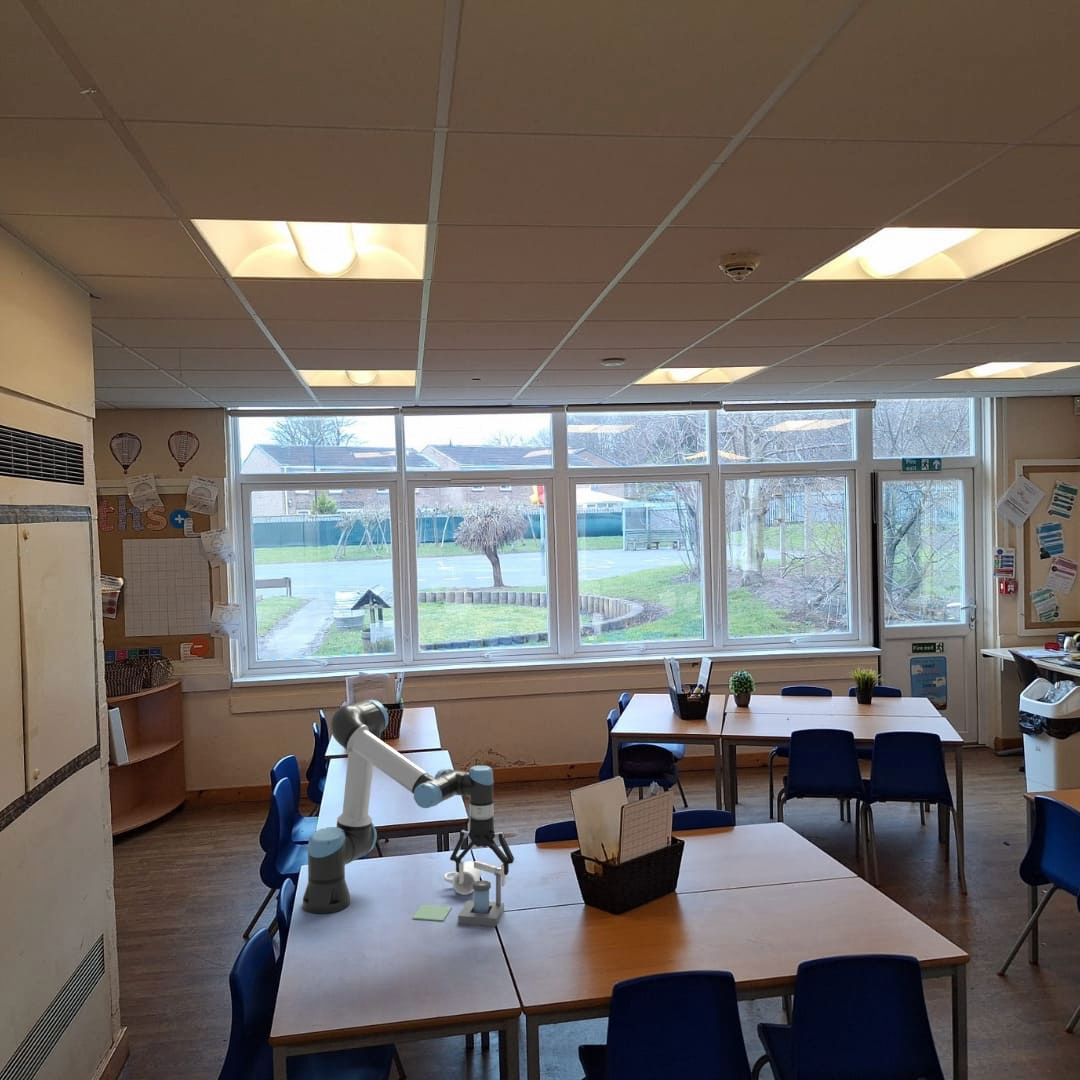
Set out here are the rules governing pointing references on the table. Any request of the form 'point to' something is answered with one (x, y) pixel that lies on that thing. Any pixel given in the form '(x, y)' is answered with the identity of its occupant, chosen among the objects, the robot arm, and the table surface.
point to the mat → (432, 913)
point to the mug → (469, 878)
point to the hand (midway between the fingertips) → (482, 883)
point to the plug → (481, 896)
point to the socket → (480, 918)
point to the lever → (488, 868)
